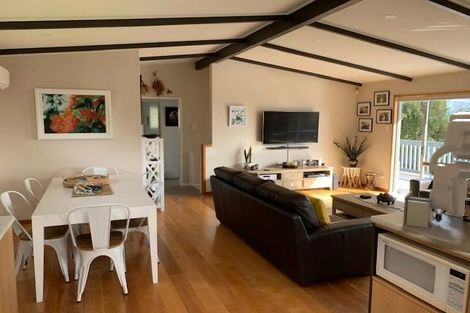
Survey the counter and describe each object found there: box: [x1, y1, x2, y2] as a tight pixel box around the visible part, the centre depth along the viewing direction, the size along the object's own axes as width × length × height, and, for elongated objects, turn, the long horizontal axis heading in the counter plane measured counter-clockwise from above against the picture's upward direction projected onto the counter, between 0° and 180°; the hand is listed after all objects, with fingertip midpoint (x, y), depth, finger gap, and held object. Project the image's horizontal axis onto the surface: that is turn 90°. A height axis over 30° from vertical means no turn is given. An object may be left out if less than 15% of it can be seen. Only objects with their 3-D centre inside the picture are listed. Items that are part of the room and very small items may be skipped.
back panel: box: [402, 190, 413, 225], centre depth 192 cm, size 19×1×15 cm, turn 145°
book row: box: [405, 196, 430, 229], centre depth 183 cm, size 6×10×14 cm, turn 55°
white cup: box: [429, 208, 436, 223], centre depth 188 cm, size 8×8×10 cm
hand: (438, 221), depth 184 cm, fingers closed
